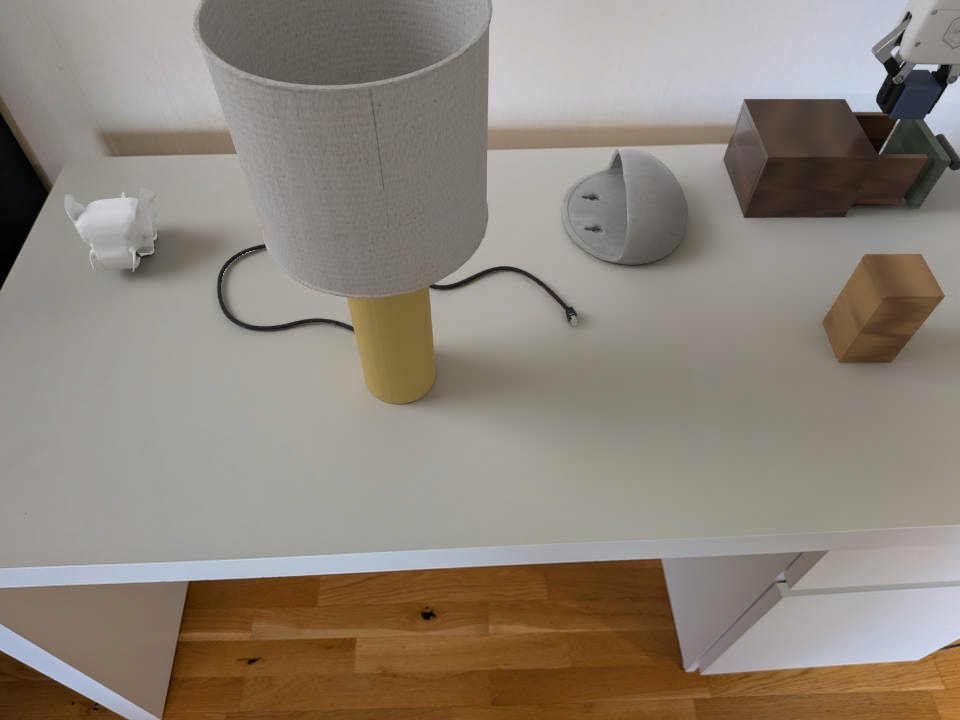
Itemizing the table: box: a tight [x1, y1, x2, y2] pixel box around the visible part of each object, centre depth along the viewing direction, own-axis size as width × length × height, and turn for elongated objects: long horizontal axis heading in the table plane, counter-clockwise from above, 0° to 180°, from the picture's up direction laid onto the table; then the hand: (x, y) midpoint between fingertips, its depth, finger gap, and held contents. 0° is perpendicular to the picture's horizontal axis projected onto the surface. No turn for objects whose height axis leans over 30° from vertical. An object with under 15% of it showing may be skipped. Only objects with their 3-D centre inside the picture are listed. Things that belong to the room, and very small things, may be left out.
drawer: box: [852, 111, 960, 210], centre depth 91 cm, size 17×11×8 cm
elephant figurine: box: [63, 187, 158, 276], centre depth 82 cm, size 10×12×9 cm
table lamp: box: [192, 0, 578, 405], centre depth 63 cm, size 40×34×40 cm
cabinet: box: [723, 98, 879, 218], centre depth 91 cm, size 14×13×10 cm
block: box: [887, 69, 942, 120], centre depth 83 cm, size 4×4×4 cm
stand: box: [821, 253, 946, 363], centre depth 74 cm, size 6×6×11 cm
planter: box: [561, 146, 689, 266], centre depth 88 cm, size 19×7×16 cm
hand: (902, 106), depth 85 cm, fingers closed on block, 4 cm apart
